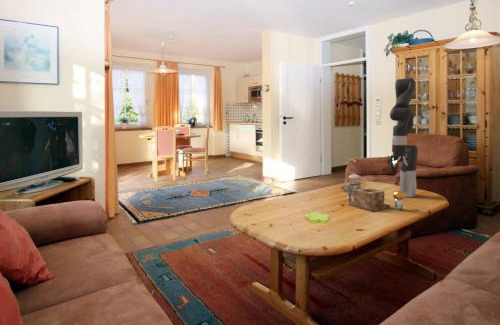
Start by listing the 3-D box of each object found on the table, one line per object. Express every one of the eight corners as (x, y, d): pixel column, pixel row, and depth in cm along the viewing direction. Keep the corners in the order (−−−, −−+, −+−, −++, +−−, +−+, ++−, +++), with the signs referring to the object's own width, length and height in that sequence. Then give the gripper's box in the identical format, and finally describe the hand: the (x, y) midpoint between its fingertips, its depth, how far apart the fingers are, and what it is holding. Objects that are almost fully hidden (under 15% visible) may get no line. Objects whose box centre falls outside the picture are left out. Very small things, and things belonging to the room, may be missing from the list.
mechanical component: (358, 202, 215) (358, 186, 214) (341, 201, 217) (341, 186, 216) (358, 201, 218) (358, 185, 217) (341, 200, 220) (341, 185, 219)
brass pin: (397, 207, 201) (398, 190, 199) (406, 209, 195) (407, 192, 194) (390, 209, 198) (391, 191, 196) (399, 211, 193) (400, 193, 191)
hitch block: (366, 201, 216) (366, 186, 215) (390, 207, 200) (390, 191, 199) (348, 205, 209) (348, 189, 208) (371, 211, 193) (371, 195, 192)
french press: (360, 199, 221) (360, 160, 218) (342, 197, 227) (342, 160, 224) (364, 196, 230) (364, 158, 226) (346, 194, 236) (346, 158, 232)
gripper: (403, 143, 200) (402, 171, 202) (384, 144, 194) (383, 172, 196) (414, 143, 193) (413, 172, 195) (394, 144, 187) (394, 174, 189)
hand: (398, 172), depth 195 cm, fingers open, 8 cm apart
